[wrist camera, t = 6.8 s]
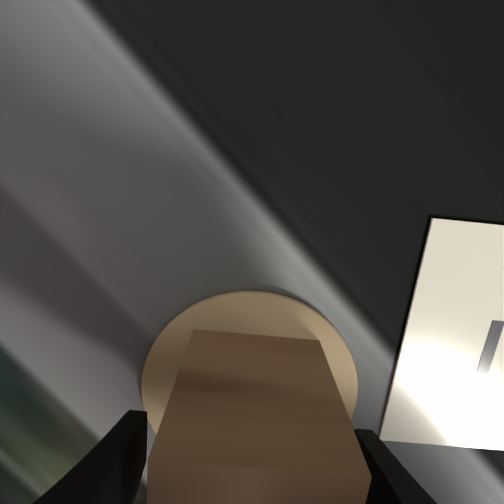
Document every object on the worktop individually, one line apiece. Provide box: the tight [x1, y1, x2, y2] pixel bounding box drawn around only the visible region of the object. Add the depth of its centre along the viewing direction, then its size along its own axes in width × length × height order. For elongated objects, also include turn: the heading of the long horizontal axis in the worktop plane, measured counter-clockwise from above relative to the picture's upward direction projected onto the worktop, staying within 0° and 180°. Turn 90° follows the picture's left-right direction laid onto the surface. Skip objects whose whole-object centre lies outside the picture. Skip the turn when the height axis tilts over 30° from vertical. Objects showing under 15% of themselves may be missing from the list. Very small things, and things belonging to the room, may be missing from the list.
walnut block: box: [147, 329, 372, 504], centre depth 11 cm, size 5×5×6 cm
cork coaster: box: [141, 290, 358, 435], centre depth 14 cm, size 9×9×1 cm
